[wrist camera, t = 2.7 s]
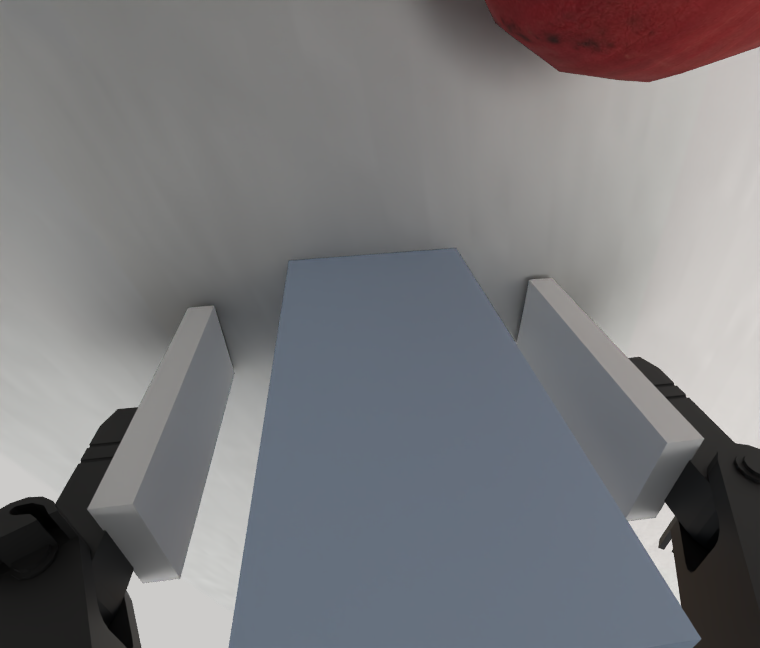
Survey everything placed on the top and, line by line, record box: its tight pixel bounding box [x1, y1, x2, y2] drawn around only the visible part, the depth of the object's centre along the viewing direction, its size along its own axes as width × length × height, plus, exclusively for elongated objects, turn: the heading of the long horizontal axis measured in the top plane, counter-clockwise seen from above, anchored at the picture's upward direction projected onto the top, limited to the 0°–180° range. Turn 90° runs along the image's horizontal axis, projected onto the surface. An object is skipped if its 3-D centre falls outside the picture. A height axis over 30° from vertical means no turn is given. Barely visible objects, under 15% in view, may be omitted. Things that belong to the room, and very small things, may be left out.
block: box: [229, 248, 701, 648], centre depth 10 cm, size 5×5×10 cm
